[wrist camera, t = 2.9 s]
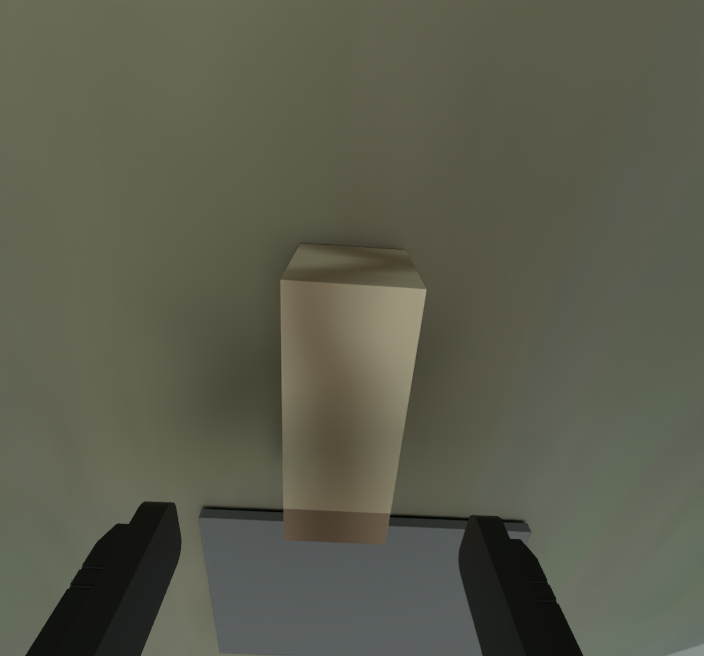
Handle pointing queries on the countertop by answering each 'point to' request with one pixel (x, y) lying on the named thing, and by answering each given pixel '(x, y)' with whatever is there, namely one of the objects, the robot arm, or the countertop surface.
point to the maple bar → (345, 387)
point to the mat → (338, 589)
